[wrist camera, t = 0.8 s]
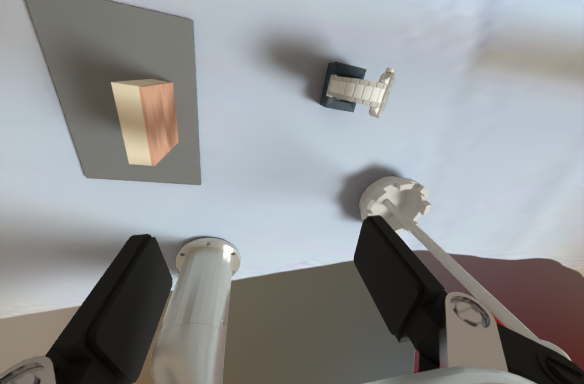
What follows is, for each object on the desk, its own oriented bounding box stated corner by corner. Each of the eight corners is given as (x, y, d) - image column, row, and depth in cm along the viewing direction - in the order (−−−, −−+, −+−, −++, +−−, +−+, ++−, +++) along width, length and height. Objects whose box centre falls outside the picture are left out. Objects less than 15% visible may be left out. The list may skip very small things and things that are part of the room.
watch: (356, 110, 34) (397, 126, 24) (308, 102, 32) (333, 115, 22) (368, 71, 31) (419, 71, 22) (317, 59, 29) (349, 54, 20)
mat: (201, 183, 35) (200, 185, 35) (88, 176, 32) (86, 178, 31) (193, 21, 25) (192, 20, 24) (23, -18, 21) (19, -20, 21)
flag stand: (408, 160, 40) (686, 316, 15) (415, 207, 47) (613, 372, 21) (346, 189, 41) (504, 385, 16) (362, 232, 48) (490, 417, 22)
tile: (178, 142, 31) (154, 166, 23) (159, 140, 30) (129, 164, 23) (172, 82, 27) (142, 86, 19) (151, 78, 27) (110, 82, 19)
